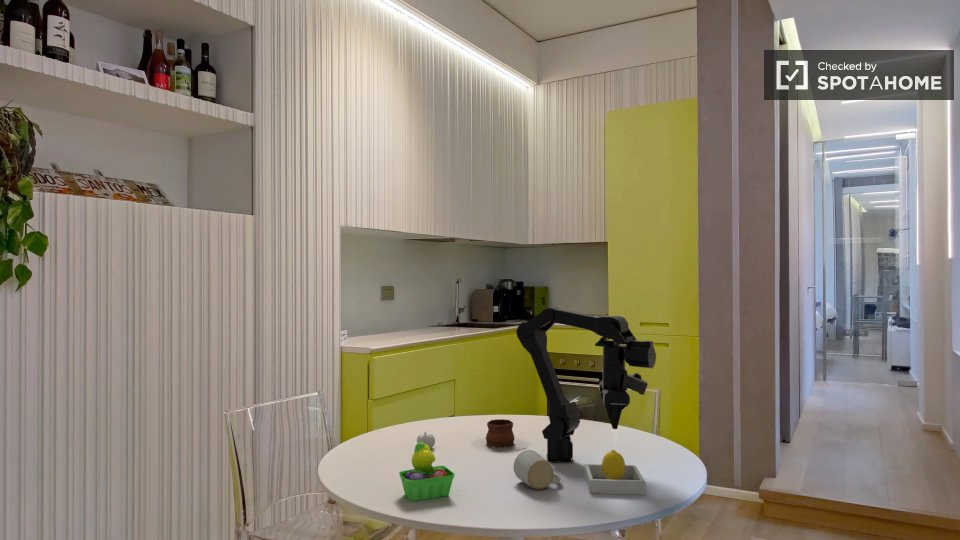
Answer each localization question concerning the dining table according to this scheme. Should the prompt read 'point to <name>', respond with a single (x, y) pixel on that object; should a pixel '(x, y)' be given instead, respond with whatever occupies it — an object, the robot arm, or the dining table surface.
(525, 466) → the ceramic mug
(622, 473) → the lemon
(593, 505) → the dining table surface
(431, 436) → the garlic
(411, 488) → the fruit basket
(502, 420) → the ceramic pot
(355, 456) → the dining table surface
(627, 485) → the corral
